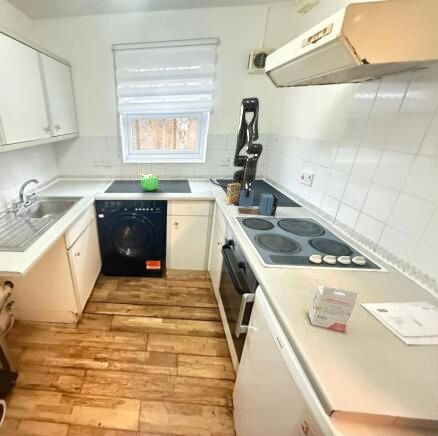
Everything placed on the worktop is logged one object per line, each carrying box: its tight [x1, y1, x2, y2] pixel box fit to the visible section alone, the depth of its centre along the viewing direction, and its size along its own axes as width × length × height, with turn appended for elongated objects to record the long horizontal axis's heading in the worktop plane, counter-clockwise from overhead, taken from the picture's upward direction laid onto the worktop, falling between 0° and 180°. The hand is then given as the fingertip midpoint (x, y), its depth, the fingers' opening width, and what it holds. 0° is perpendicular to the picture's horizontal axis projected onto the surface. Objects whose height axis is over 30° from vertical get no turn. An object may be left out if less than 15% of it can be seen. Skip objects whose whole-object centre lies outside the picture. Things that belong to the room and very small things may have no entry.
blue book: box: [238, 189, 255, 208], centre depth 172 cm, size 3×9×12 cm, turn 75°
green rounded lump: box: [139, 173, 160, 192], centre depth 215 cm, size 18×17×15 cm
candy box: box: [225, 183, 241, 205], centre depth 179 cm, size 9×4×15 cm, turn 107°
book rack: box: [237, 193, 279, 218], centre depth 160 cm, size 12×22×13 cm, turn 75°
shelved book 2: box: [265, 193, 274, 215], centre depth 158 cm, size 9×3×12 cm, turn 165°
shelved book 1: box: [257, 193, 268, 216], centre depth 159 cm, size 9×3×12 cm, turn 165°
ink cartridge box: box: [308, 285, 358, 332], centre depth 72 cm, size 9×5×15 cm, turn 69°
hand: (246, 195), depth 171 cm, fingers open, 8 cm apart
